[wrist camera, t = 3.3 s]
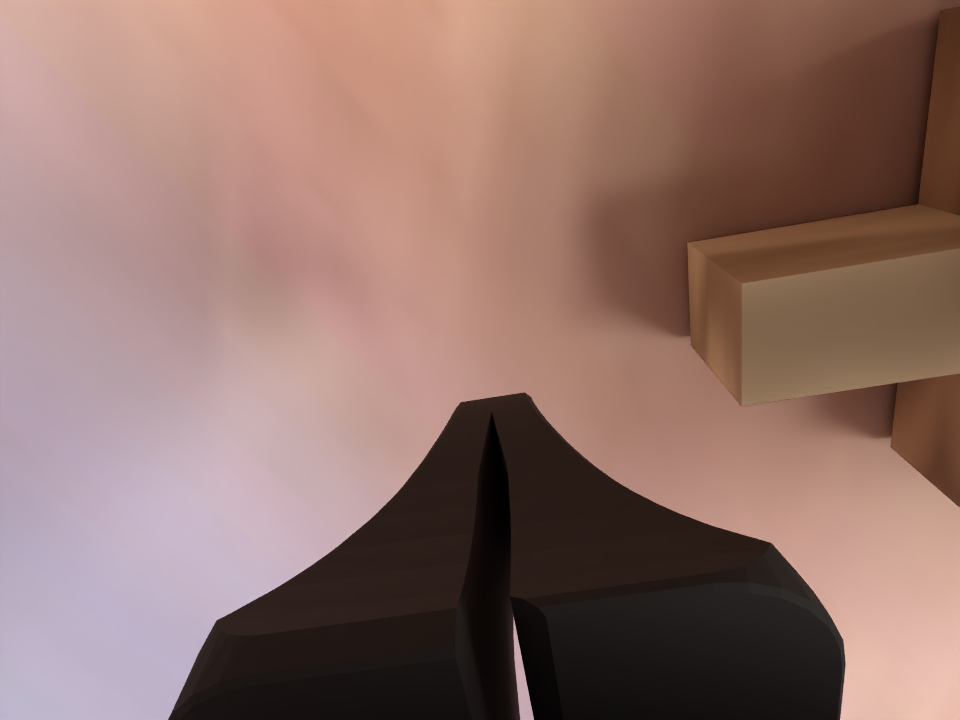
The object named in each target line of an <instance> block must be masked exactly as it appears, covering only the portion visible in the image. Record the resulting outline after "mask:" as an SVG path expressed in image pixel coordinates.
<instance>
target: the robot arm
mask: <svg viewBox="0 0 960 720" xmlns="http://www.w3.org/2000/svg"><path fill="white" fill-rule="evenodd" d="M513 615H514V620H515V625H516V630H517V635H518V640H519V645H520V650H521V655H522V660H523V665H524V671H525V676H526V681H527V686H528V691H529V696H530V701H531V706H532V711H533V716H534V720H840V714H841V704H842V694H843V684H844V674H845V654H844V643H843V639H842V637H841V635H840V633H839V631H838V630H837V628H836V626H835V624H834V622H833V620H832V618H831V617H830V615H829V614H828V612H827V611H826V609H825V608H824V606H823V605H822V603H821V602H820V600H819V599H818V597H817V596H816V595H815V593H814V592H813V591H812V589H811V588H810V587H809V586H808V585H807V583H806V582H805V581H804V580H803V579H802V577H801V576H800V575H799V574H798V573H797V571H796V570H795V569H794V568H793V567H792V566H791V565H790V564H789V562H788V561H787V560H786V559H785V558H784V557H783V556H782V555H781V553H780V552H779V551H778V550H777V549H776V548H775V547H774V545H773V544H771V543H769V542H766V541H762V540H759V539H755V538H752V537H748V536H745V535H741V534H738V533H735V532H731V531H728V530H724V529H721V528H717V527H714V526H711V525H708V524H705V523H702V522H700V521H697V520H695V519H692V518H689V517H687V516H684V515H682V514H679V513H677V512H674V511H672V510H670V509H668V508H665V507H663V506H661V505H659V504H656V503H654V502H653V501H651V500H649V499H647V498H645V497H643V496H641V495H639V494H637V493H635V492H633V491H631V490H630V489H628V488H626V487H624V486H623V485H621V484H619V483H618V482H616V481H615V480H613V479H612V478H610V477H609V476H607V475H606V474H605V473H603V472H602V471H601V470H599V469H598V468H597V467H595V466H594V465H593V464H592V463H590V462H589V461H588V460H587V459H586V458H584V457H583V456H582V455H581V454H580V453H579V452H577V451H576V450H575V449H574V448H573V447H572V446H571V445H570V444H569V443H568V442H567V441H566V440H565V439H564V438H563V437H562V436H561V435H560V434H559V433H558V432H557V431H556V430H555V429H554V428H553V427H552V426H551V424H550V423H549V422H548V421H547V420H546V419H545V417H544V416H543V415H542V414H541V412H540V411H539V410H538V408H537V407H536V405H535V404H534V402H533V401H532V398H531V397H530V396H529V395H527V394H526V393H518V394H512V395H505V396H499V397H492V398H486V399H480V400H473V401H467V402H461V403H460V404H459V405H458V407H457V408H456V409H455V411H454V413H453V414H452V416H451V418H450V420H449V421H448V423H447V425H446V426H445V428H444V430H443V431H442V433H441V435H440V436H439V438H438V439H437V441H436V442H435V444H434V445H433V447H432V448H431V450H430V451H429V453H428V454H427V456H426V457H425V458H424V460H423V461H422V463H421V464H420V465H419V467H418V468H417V469H416V470H415V472H414V473H413V474H412V475H411V477H410V478H409V479H408V481H407V482H406V483H405V484H404V486H403V487H402V488H401V489H400V490H399V491H398V492H397V494H396V495H395V496H394V497H393V498H392V499H391V500H390V501H389V502H388V503H387V504H386V505H385V506H384V507H383V508H382V509H381V510H380V511H379V512H378V513H377V514H376V515H375V516H374V517H372V518H371V519H370V520H369V521H368V522H367V523H366V524H364V525H363V526H362V527H361V528H360V529H358V530H357V531H356V532H355V533H354V534H352V535H351V536H350V537H349V538H348V539H346V540H345V541H344V542H343V543H341V544H340V545H339V546H338V547H337V548H335V549H334V550H333V551H331V552H330V553H329V554H327V555H326V556H324V557H323V558H322V559H320V560H319V561H317V562H316V563H315V564H313V565H312V566H310V567H309V568H307V569H306V570H304V571H303V572H301V573H300V574H298V575H296V576H295V577H293V578H292V579H290V580H289V581H287V582H285V583H284V584H282V585H281V586H279V587H277V588H276V589H274V590H272V591H270V592H268V593H267V594H265V595H263V596H261V597H259V598H258V599H256V600H254V601H252V602H250V603H249V604H247V605H245V606H243V607H241V608H240V609H238V610H236V611H234V612H232V613H231V614H229V615H227V616H225V617H223V618H221V619H219V620H217V621H216V623H215V625H214V626H213V628H212V630H211V632H210V634H209V635H208V637H207V639H206V641H205V643H204V645H203V646H202V648H201V650H200V652H199V654H198V656H197V658H196V661H195V663H194V665H193V667H192V669H191V672H190V674H189V676H188V678H187V680H186V683H185V685H184V687H183V689H182V691H181V693H180V696H179V698H178V700H177V702H176V704H175V706H174V709H173V711H172V713H171V715H170V717H169V719H168V720H520V714H519V704H518V693H517V682H516V672H515V661H514V639H513Z"/></svg>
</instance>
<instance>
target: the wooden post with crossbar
mask: <svg viewBox="0 0 960 720" xmlns="http://www.w3.org/2000/svg"><path fill="white" fill-rule="evenodd" d="M687 248H688V277H689V306H690V335H691V346H692V347H693V348H694V350H695V351H696V352H697V353H698V354H699V356H700V357H701V358H702V359H703V360H704V362H705V363H706V364H707V365H708V366H709V368H710V369H711V370H712V371H713V372H714V374H715V375H716V376H717V377H718V378H719V380H720V381H721V382H722V383H723V384H724V386H725V387H726V388H727V389H728V390H729V392H730V393H731V394H732V395H733V397H734V398H735V399H736V400H737V401H738V403H739V404H740V405H741V406H747V405H754V404H760V403H767V402H774V401H780V400H787V399H794V398H800V397H807V396H814V395H820V394H827V393H833V392H840V391H847V390H853V389H860V388H867V387H873V386H880V385H887V384H893V383H898V385H897V394H896V403H895V411H894V420H893V429H892V438H891V446H890V447H891V448H892V449H893V450H895V451H896V452H897V453H898V454H899V455H900V456H901V457H903V458H904V459H905V460H906V461H907V462H908V463H909V464H911V465H912V466H913V467H914V468H915V469H916V470H917V471H919V472H920V473H921V474H922V475H923V476H924V477H925V478H927V479H928V480H929V481H930V482H931V483H932V484H933V485H935V486H936V487H937V488H938V489H939V490H940V491H941V492H943V493H944V494H945V495H946V496H947V497H948V498H949V499H951V500H952V501H953V502H954V503H955V504H956V505H957V506H959V507H960V7H957V8H952V9H946V10H941V11H940V18H939V27H938V35H937V44H936V53H935V62H934V70H933V79H932V88H931V97H930V105H929V114H928V123H927V132H926V140H925V149H924V158H923V167H922V175H921V184H920V193H919V202H918V204H917V205H911V206H905V207H899V208H893V209H887V210H881V211H875V212H869V213H863V214H857V215H851V216H845V217H839V218H833V219H827V220H821V221H815V222H809V223H803V224H797V225H791V226H785V227H779V228H773V229H767V230H761V231H755V232H749V233H743V234H736V235H730V236H724V237H718V238H712V239H706V240H700V241H694V242H688V243H687Z"/></svg>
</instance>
